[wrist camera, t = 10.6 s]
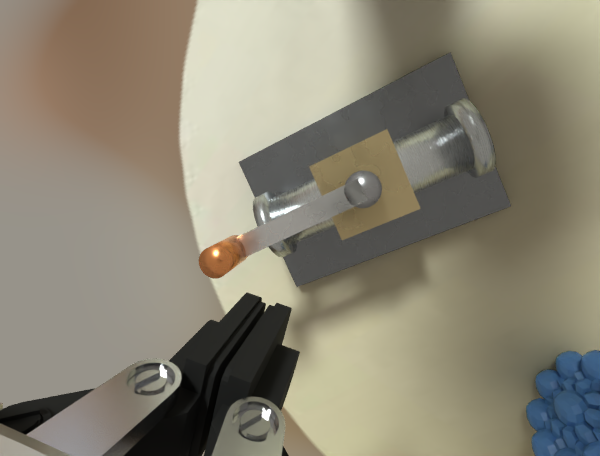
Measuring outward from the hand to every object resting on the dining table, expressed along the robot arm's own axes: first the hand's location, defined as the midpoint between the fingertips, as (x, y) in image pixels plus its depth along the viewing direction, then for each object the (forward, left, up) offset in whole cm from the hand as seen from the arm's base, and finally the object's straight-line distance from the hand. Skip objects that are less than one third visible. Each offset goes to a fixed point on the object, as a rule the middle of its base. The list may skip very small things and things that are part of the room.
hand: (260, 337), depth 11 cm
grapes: (+26, +14, -27) cm, 40 cm away
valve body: (-2, +4, -27) cm, 27 cm away
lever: (-2, -1, -17) cm, 17 cm away
